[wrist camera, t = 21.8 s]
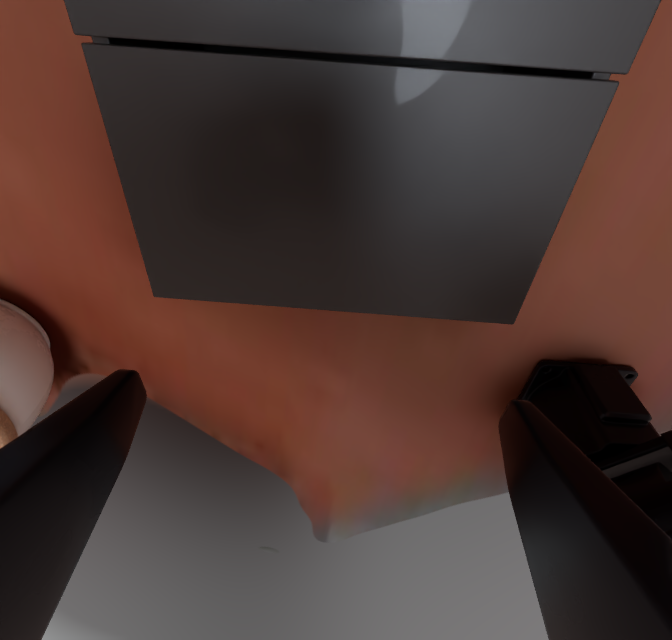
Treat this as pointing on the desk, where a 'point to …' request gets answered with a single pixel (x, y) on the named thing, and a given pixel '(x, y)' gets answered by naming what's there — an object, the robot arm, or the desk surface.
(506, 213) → the flap
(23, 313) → the trinket box
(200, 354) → the desk surface
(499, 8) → the carton
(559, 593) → the robot arm
